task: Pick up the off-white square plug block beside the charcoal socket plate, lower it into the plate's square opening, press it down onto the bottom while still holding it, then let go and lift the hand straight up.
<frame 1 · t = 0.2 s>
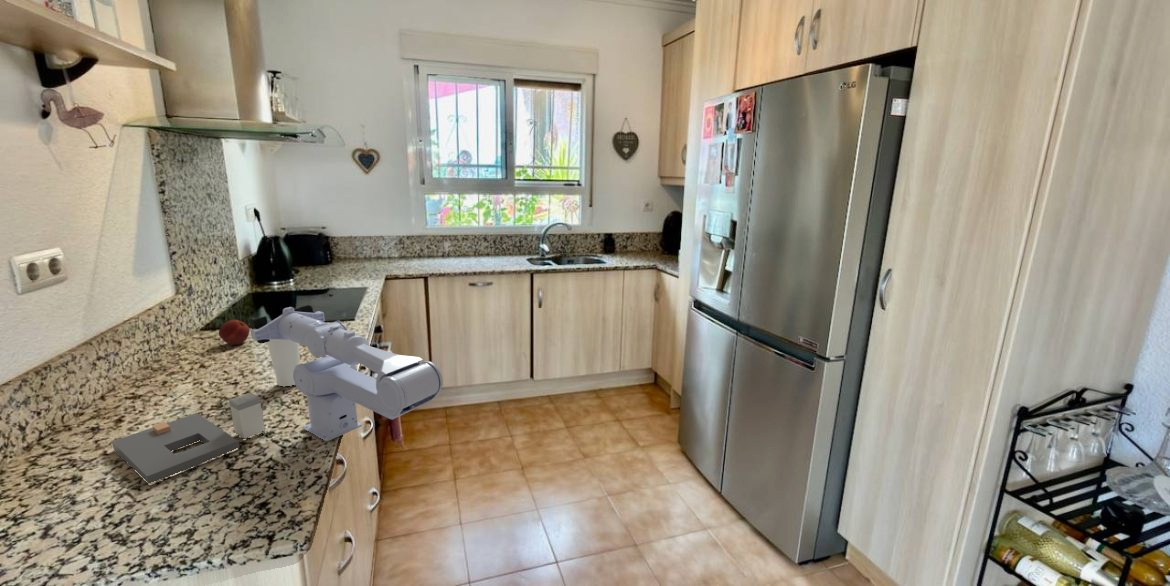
hand: (269, 318, 111), 21 cm above the worktop, tool horizontal, fingers open, 7 cm apart
socket plate: (177, 450, 97), on the worktop
apple: (236, 345, 155), on the worktop
plug: (250, 433, 103), on the worktop
drinking glass: (289, 384, 127), on the worktop
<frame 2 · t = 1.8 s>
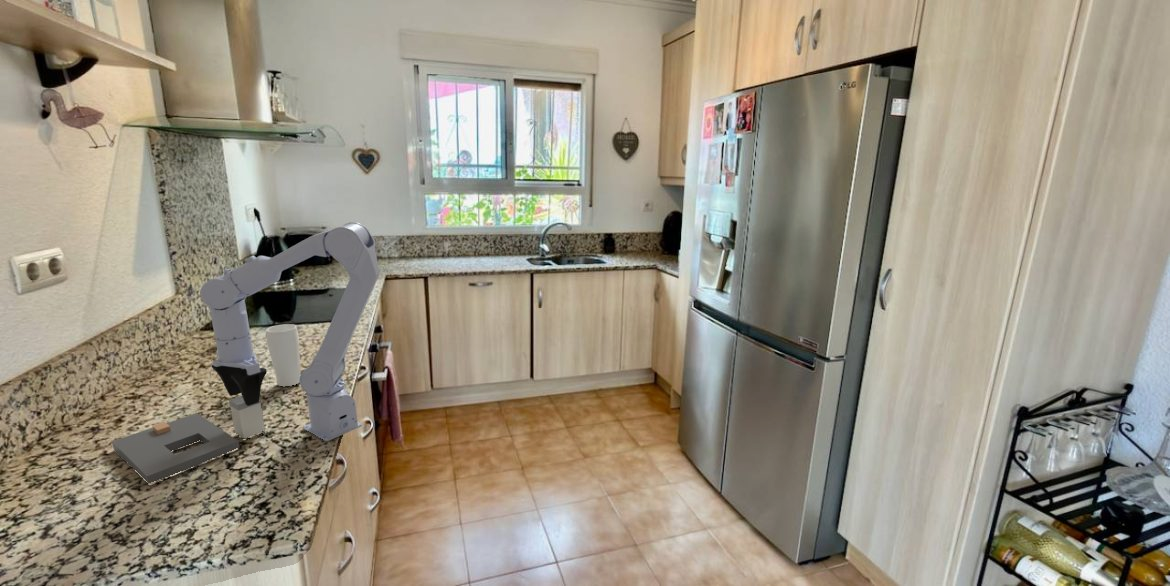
hand: (244, 398, 101), 8 cm above the worktop, tool pointing down, fingers open, 7 cm apart
nothing on the worktop moved.
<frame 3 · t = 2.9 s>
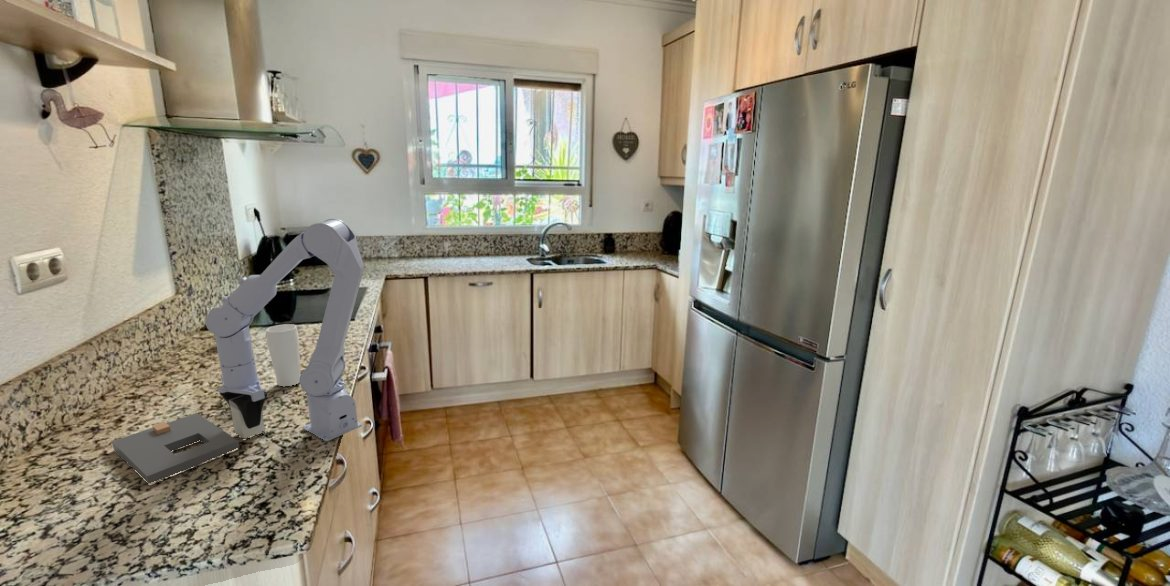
hand: (248, 423, 103), 2 cm above the worktop, tool pointing down, fingers closed on plug, 4 cm apart
plug: (250, 433, 103), on the worktop, touching gripper
everything else where it was.
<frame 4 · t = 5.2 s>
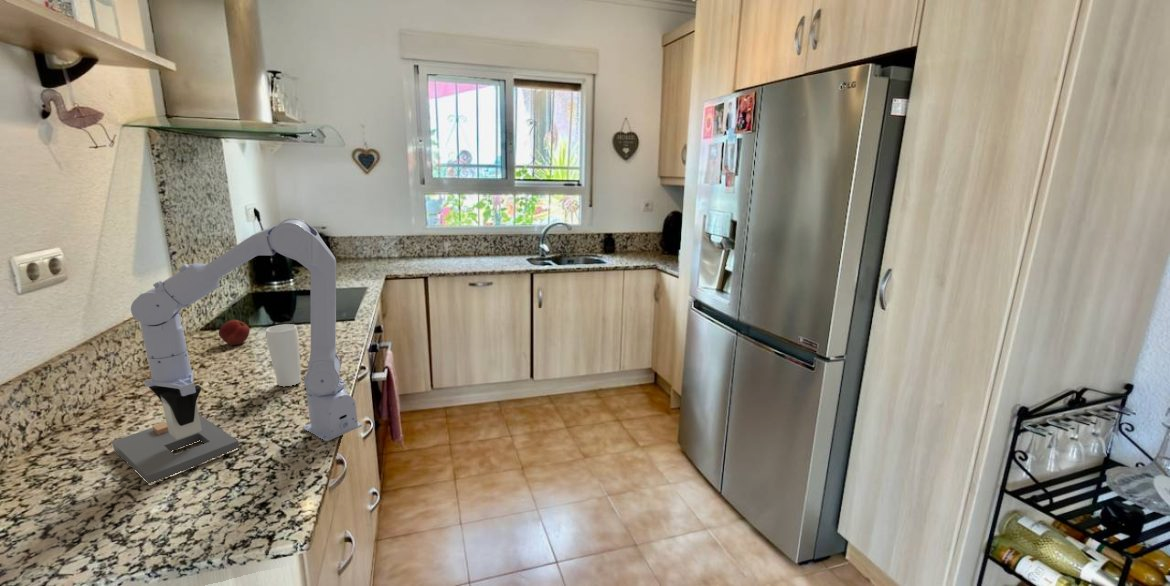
hand: (181, 420, 95), 7 cm above the worktop, tool pointing down, fingers closed on plug, 4 cm apart
plug: (185, 431, 95), point 4 cm above the worktop, touching gripper
everything else where it was.
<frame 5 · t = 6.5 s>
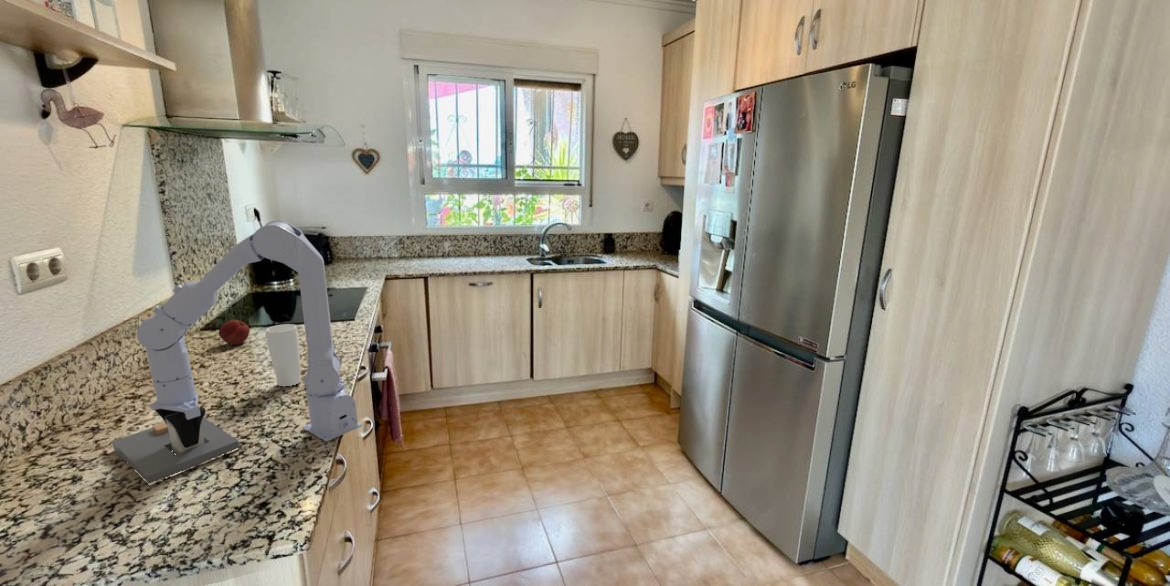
hand: (186, 441, 96), 2 cm above the worktop, tool pointing down, fingers closed on plug, 4 cm apart
plug: (190, 452, 97), resting in socket plate, touching gripper
everything else where it was.
when the fingers open (2 cm above the worktop, at t = 7.5 s): plug stays where it is, resting in socket plate.
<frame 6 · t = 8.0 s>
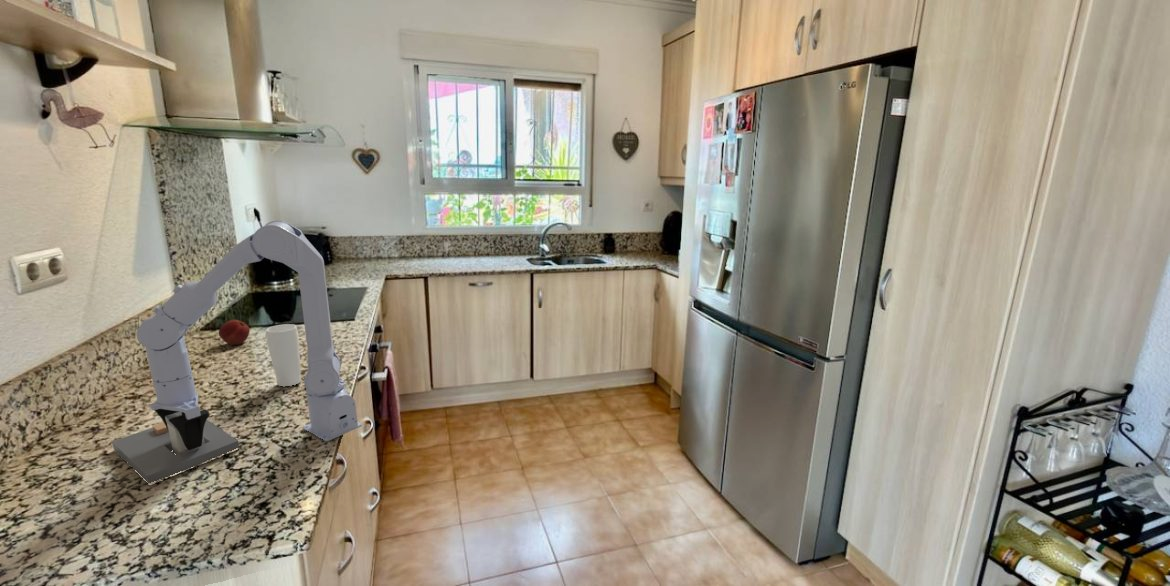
hand: (186, 441, 96), 2 cm above the worktop, tool pointing down, fingers open, 7 cm apart
plug: (190, 452, 97), resting in socket plate
everything else where it was.
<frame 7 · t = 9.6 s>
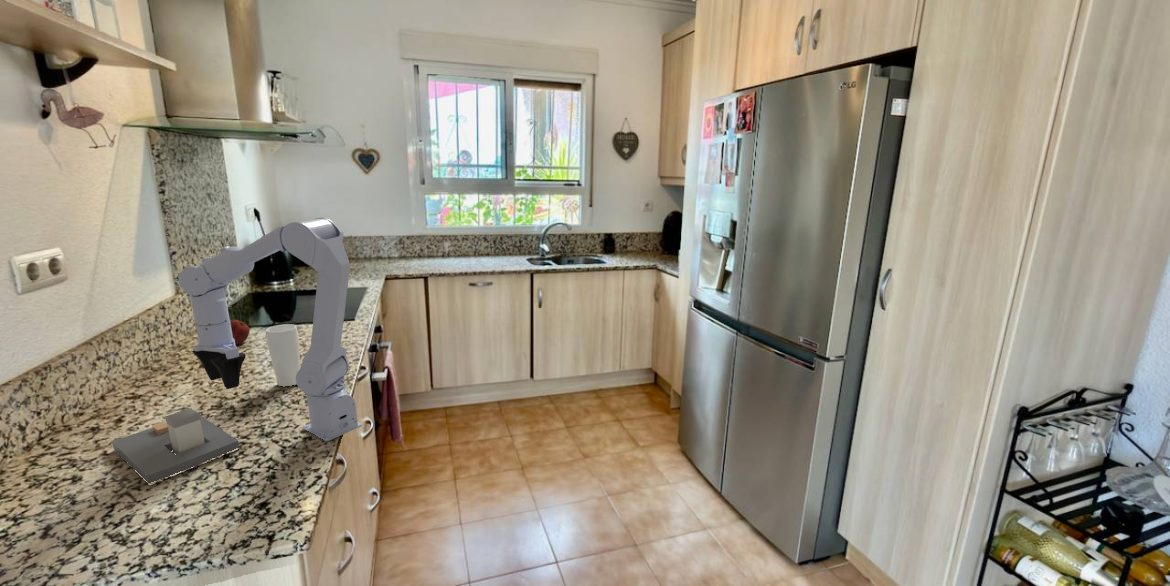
hand: (224, 382, 105), 9 cm above the worktop, tool pointing down, fingers open, 7 cm apart
nothing on the worktop moved.
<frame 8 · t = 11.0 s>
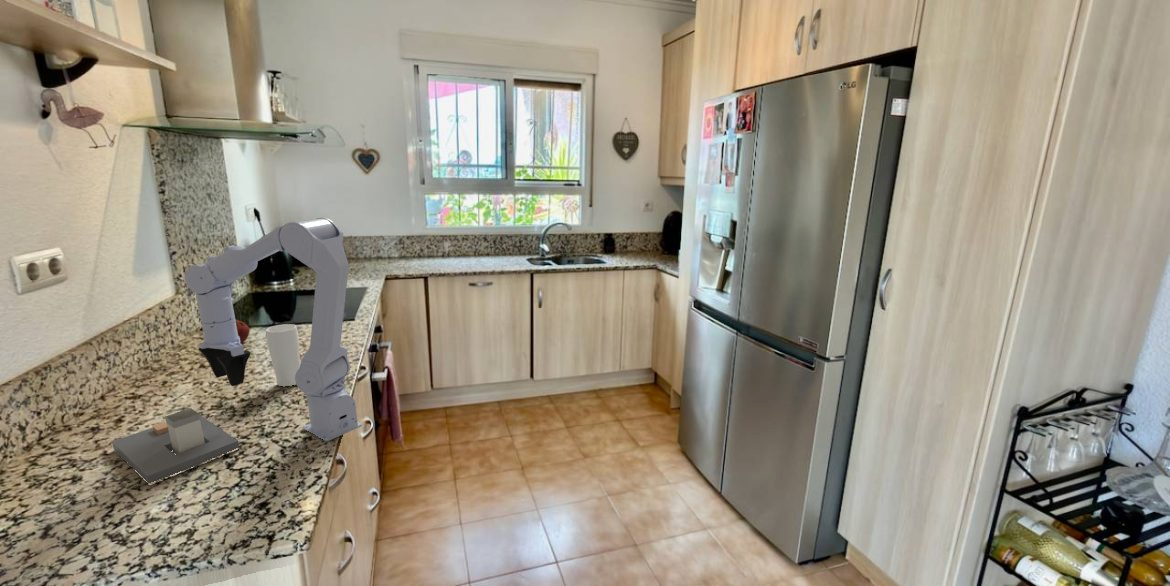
hand: (229, 380, 107), 9 cm above the worktop, tool pointing down, fingers open, 7 cm apart
nothing on the worktop moved.
at the end: plug 0.2 cm from the target spot on the socket plate, point 0.0 cm above the socket plate's base; plug tilted 0°; the gripper is holding nothing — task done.
